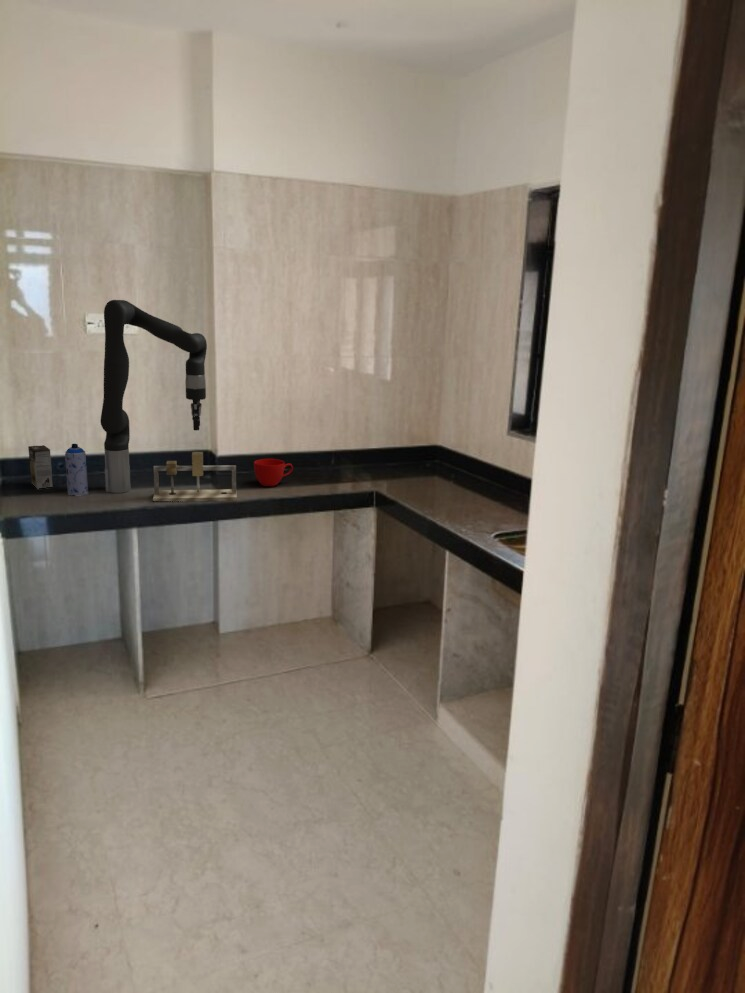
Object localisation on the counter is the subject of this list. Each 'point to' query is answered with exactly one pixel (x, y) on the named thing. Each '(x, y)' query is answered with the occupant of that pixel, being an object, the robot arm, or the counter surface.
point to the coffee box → (40, 466)
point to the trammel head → (197, 466)
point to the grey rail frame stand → (192, 494)
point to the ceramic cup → (270, 471)
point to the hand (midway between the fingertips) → (196, 428)
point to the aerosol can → (76, 470)
